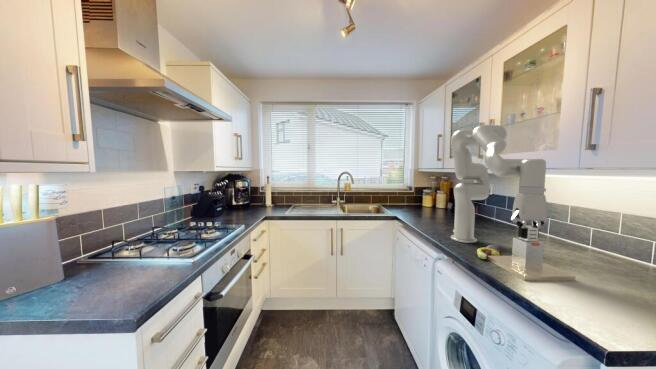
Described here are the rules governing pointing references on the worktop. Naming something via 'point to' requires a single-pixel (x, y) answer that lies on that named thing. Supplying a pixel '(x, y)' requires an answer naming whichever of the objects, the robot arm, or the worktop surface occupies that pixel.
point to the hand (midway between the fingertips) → (528, 237)
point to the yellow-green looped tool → (488, 251)
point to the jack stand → (529, 263)
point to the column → (531, 234)
